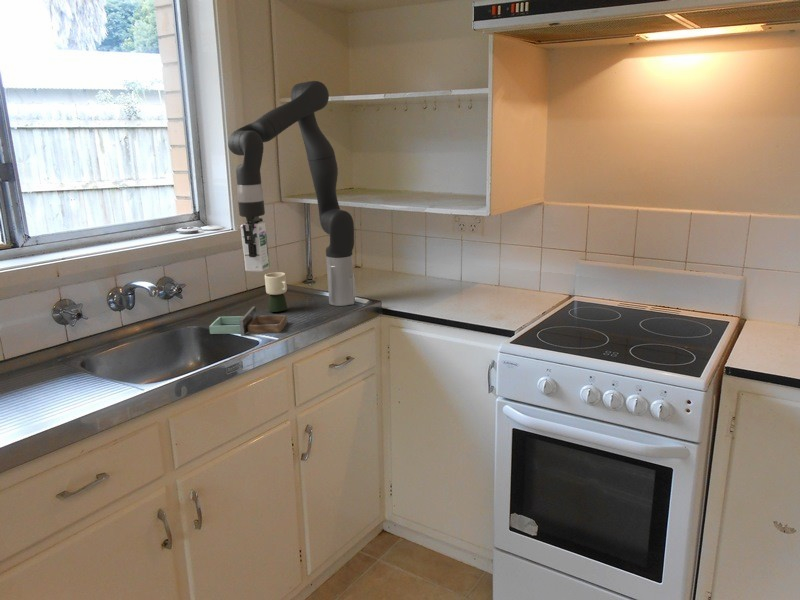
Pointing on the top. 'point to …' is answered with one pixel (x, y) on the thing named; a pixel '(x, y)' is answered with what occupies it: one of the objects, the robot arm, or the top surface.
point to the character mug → (276, 291)
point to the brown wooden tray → (267, 320)
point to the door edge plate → (247, 320)
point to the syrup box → (261, 246)
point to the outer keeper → (228, 329)
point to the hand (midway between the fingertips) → (256, 254)
